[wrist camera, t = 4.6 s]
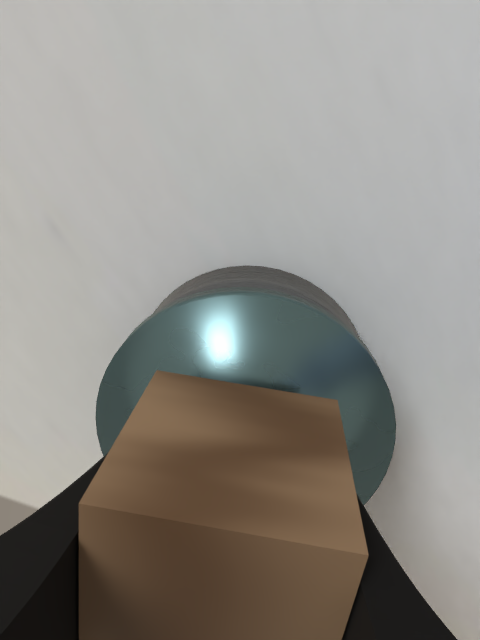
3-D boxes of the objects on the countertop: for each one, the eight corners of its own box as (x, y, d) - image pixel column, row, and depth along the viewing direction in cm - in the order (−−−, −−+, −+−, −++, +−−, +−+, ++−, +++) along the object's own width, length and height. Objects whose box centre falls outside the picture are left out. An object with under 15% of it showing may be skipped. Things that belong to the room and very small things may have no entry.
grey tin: (395, 276, 16) (431, 317, 12) (345, 485, 20) (361, 565, 16) (134, 245, 16) (93, 275, 13) (131, 456, 20) (97, 528, 16)
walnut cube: (337, 400, 12) (368, 555, 8) (303, 537, 14) (312, 730, 9) (156, 370, 12) (79, 503, 8) (146, 509, 14) (78, 685, 10)
